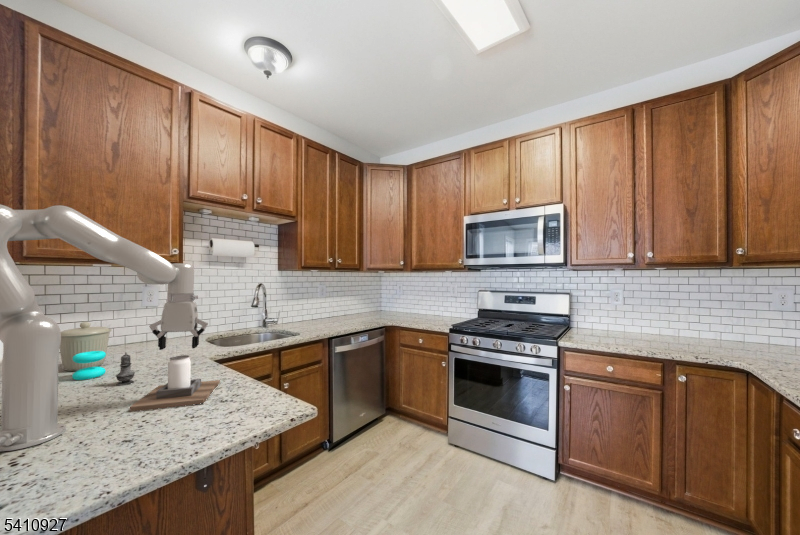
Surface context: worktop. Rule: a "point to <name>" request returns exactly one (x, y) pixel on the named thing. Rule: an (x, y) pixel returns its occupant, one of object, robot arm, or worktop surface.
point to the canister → (83, 345)
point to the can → (179, 372)
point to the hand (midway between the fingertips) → (178, 348)
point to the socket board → (176, 395)
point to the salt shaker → (125, 371)
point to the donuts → (90, 371)
